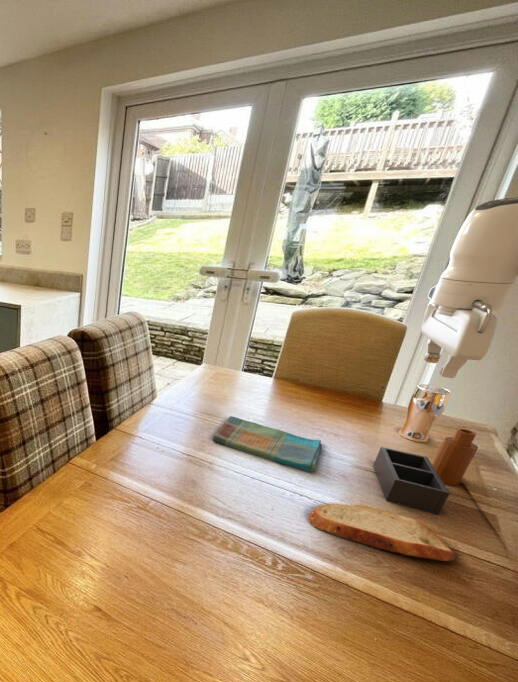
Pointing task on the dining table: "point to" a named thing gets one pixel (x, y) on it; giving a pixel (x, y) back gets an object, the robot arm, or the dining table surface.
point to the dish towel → (269, 443)
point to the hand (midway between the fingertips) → (437, 368)
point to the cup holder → (410, 480)
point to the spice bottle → (455, 456)
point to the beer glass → (424, 411)
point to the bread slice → (381, 530)
